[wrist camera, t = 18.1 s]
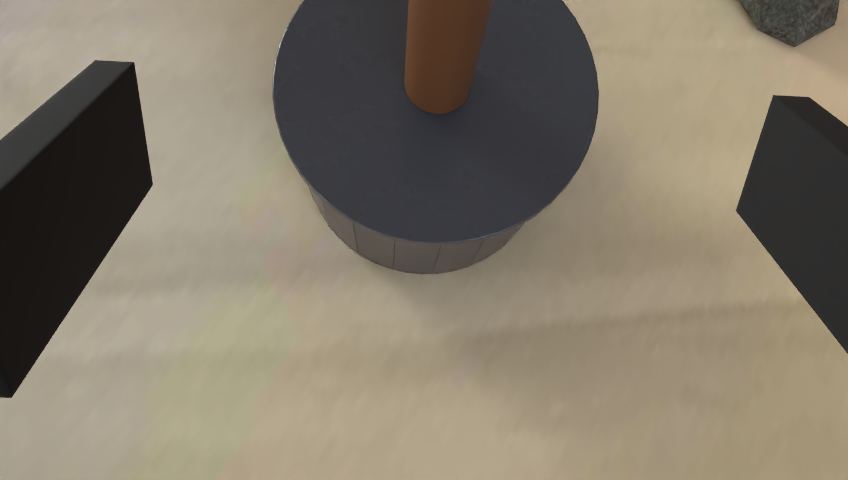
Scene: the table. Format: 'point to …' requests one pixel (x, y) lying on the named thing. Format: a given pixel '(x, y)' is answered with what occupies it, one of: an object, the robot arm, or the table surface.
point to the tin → (409, 247)
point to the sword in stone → (792, 17)
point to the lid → (435, 111)
